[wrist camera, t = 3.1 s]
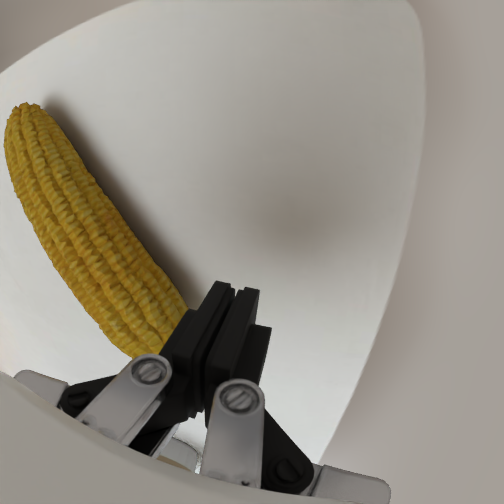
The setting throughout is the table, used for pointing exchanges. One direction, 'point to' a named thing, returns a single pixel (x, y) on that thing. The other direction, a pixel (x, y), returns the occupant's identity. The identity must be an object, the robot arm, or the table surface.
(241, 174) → the table surface
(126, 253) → the food
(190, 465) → the coffee cup
